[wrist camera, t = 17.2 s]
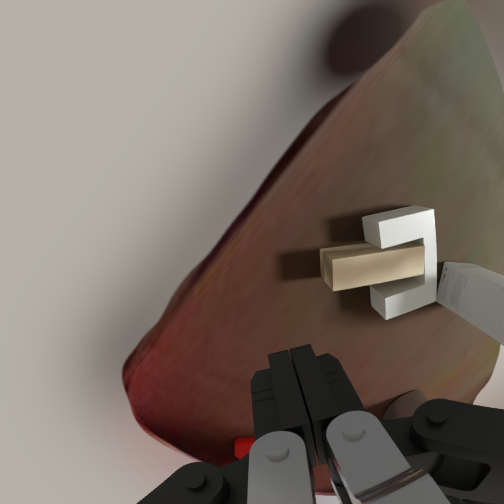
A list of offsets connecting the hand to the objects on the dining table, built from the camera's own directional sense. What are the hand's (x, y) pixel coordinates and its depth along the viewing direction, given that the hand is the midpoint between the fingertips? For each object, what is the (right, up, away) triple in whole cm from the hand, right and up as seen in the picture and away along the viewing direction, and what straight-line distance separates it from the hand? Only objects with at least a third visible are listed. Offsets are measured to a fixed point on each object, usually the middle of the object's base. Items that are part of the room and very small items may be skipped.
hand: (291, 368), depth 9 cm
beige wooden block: (+13, +4, +24) cm, 28 cm away
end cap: (+17, +4, +24) cm, 30 cm away
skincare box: (+30, 0, +26) cm, 40 cm away
